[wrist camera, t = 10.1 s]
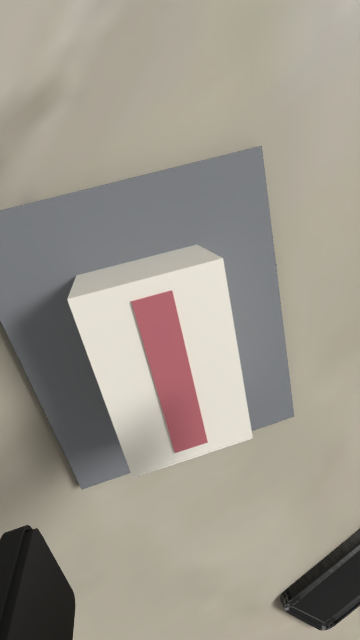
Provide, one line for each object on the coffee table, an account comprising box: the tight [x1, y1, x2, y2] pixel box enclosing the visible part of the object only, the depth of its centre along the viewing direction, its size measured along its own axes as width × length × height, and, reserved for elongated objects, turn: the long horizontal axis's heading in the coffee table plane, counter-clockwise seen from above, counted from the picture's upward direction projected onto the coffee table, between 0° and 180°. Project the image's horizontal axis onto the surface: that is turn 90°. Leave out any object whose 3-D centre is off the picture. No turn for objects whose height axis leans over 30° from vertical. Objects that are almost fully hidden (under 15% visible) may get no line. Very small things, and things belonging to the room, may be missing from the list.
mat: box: [0, 146, 294, 489], centre depth 18 cm, size 16×14×1 cm
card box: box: [67, 245, 253, 478], centre depth 16 cm, size 6×9×4 cm, turn 13°
